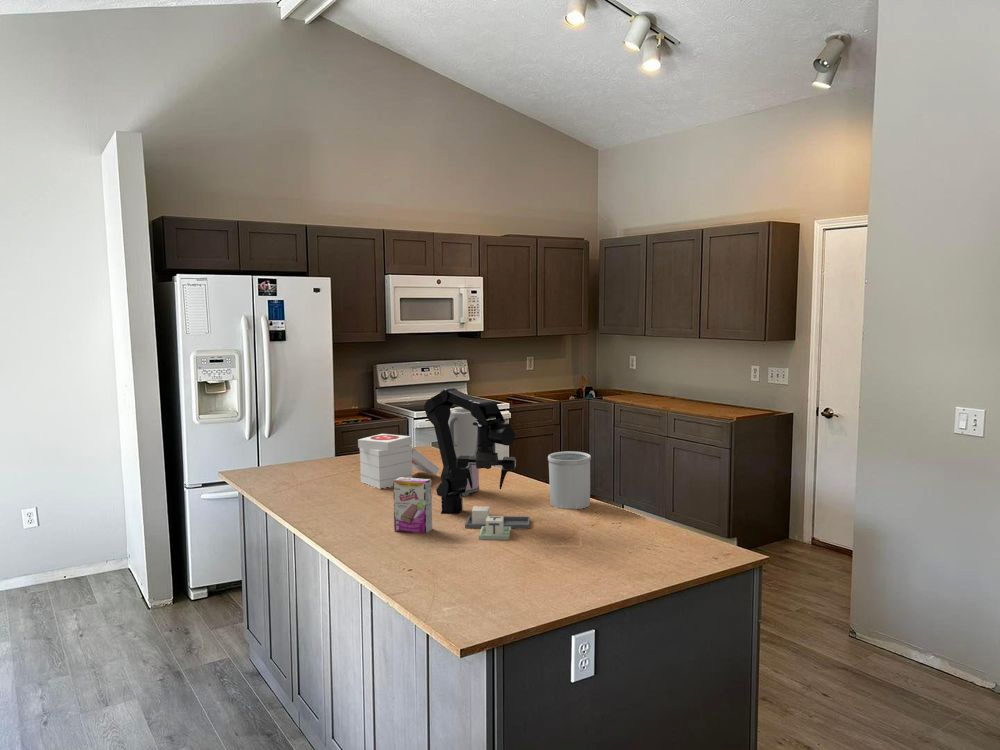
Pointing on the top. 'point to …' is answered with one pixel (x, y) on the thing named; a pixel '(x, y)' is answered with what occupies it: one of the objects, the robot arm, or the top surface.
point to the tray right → (517, 522)
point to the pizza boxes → (390, 459)
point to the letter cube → (495, 525)
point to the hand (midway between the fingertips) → (486, 488)
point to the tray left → (470, 525)
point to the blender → (464, 440)
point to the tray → (494, 537)
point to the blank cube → (480, 514)
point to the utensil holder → (569, 479)
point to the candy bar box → (412, 505)
